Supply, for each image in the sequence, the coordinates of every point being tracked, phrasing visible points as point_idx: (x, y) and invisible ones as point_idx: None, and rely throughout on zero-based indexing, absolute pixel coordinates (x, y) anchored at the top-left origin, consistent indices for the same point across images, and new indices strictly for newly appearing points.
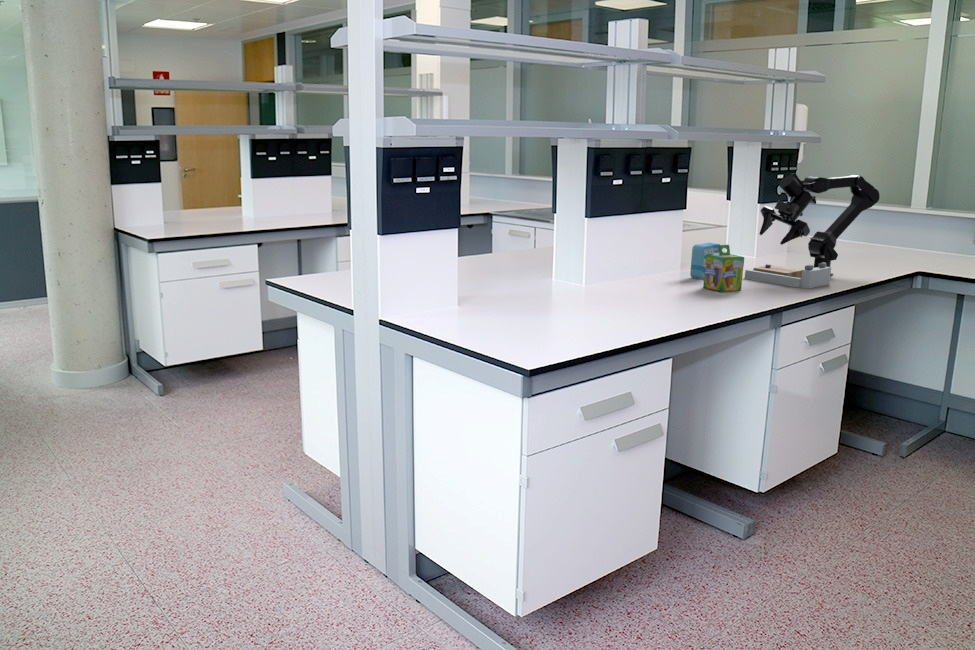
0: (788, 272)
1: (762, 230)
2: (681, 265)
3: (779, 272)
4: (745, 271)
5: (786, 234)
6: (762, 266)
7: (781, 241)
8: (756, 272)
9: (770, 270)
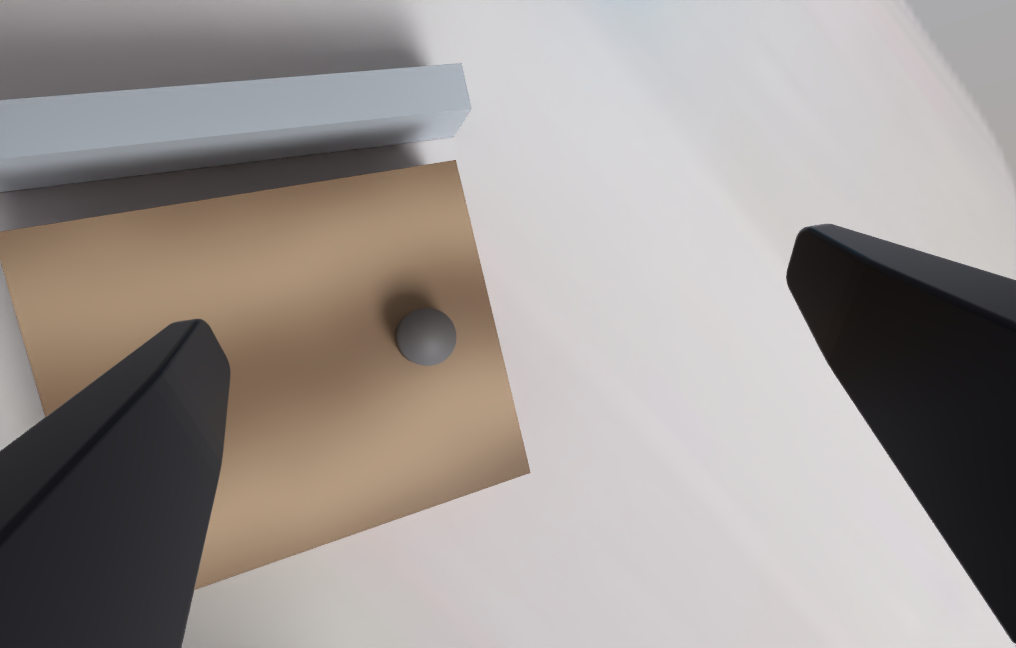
0: (35, 299)
1: (870, 268)
2: (972, 105)
3: (115, 215)
4: (454, 69)
5: (21, 513)
6: (494, 331)
7: (170, 336)
8: (329, 77)
9: (253, 201)
